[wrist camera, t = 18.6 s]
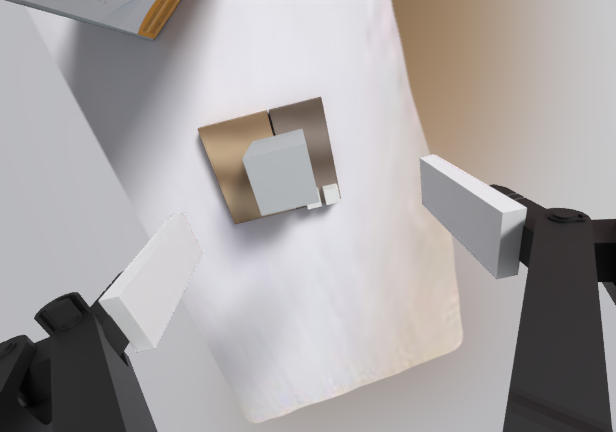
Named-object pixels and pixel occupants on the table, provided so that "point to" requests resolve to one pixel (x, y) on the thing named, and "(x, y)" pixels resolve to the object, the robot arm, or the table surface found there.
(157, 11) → the hard drive box
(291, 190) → the block
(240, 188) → the board
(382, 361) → the table surface
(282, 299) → the table surface
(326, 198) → the spacer wedges
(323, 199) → the laminate strip
